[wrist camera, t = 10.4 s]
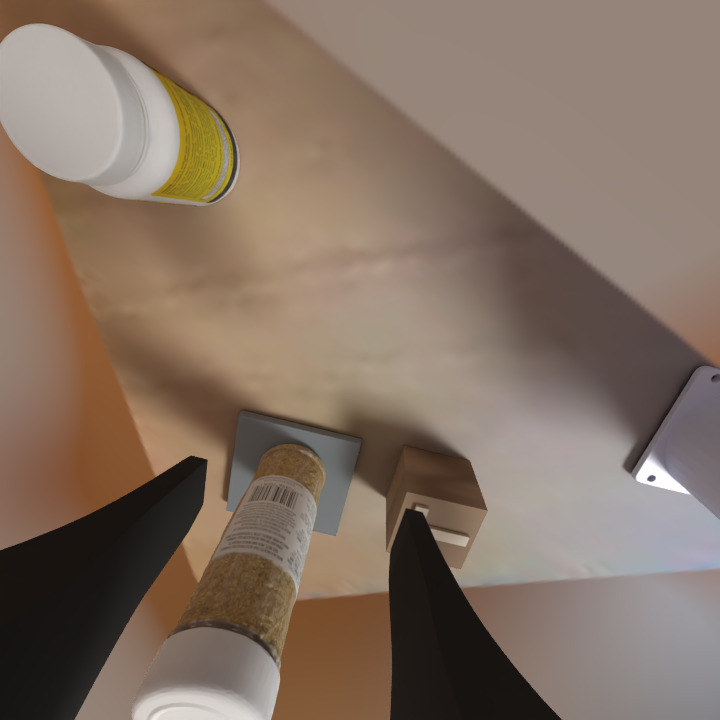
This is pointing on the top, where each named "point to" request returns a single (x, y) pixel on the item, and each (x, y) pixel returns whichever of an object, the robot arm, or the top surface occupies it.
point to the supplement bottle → (111, 121)
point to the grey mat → (329, 446)
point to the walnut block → (437, 500)
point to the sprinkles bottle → (240, 602)
